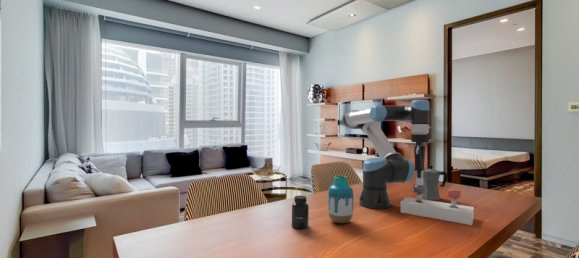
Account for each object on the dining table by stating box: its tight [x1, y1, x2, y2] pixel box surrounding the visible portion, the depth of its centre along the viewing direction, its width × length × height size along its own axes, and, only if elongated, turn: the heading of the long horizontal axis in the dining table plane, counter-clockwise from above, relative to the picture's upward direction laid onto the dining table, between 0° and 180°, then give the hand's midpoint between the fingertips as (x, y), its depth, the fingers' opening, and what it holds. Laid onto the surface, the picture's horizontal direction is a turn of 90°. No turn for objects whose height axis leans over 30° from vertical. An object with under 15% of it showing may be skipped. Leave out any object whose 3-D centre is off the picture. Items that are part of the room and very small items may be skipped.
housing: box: [400, 196, 475, 226], centre depth 127 cm, size 28×10×5 cm, turn 54°
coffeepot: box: [422, 165, 449, 201], centre depth 154 cm, size 15×9×18 cm, turn 37°
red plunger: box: [447, 188, 462, 209], centre depth 122 cm, size 5×5×8 cm
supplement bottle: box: [291, 195, 310, 230], centre depth 113 cm, size 7×7×12 cm
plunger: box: [412, 183, 425, 203], centre depth 131 cm, size 5×5×8 cm
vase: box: [327, 175, 354, 224], centre depth 118 cm, size 11×11×19 cm
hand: (419, 184), depth 130 cm, fingers closed
